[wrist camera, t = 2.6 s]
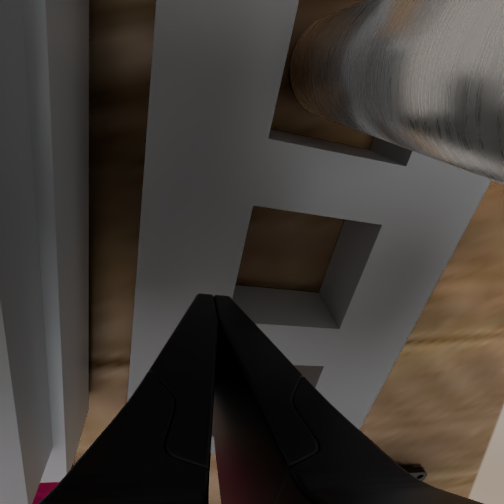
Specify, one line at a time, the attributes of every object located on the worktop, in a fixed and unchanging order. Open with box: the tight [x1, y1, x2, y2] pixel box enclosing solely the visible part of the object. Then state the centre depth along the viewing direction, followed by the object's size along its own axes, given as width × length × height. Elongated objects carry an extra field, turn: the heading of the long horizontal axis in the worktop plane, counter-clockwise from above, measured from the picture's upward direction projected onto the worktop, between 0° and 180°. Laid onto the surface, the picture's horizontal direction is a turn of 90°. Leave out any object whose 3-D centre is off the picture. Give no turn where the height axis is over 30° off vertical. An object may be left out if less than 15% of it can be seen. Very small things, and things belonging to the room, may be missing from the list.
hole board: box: [127, 0, 491, 454], centre depth 13 cm, size 20×11×2 cm, turn 168°
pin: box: [289, 0, 504, 184], centre depth 7 cm, size 3×3×9 cm
